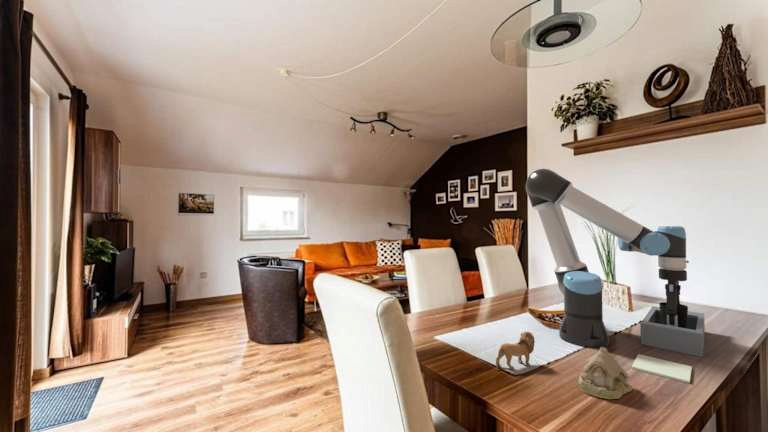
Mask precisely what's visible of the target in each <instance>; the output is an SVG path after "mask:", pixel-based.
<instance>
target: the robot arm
mask: <svg viewBox="0 0 768 432" xmlns="http://www.w3.org/2000/svg"><path fill="white" fill-rule="evenodd" d="M525 182H526V183H525V192H526V195H527V197H528V198H529V202H530V204H531V207H532V209H534V210H536V211H537V212H538V215H539V218H540V221H541V224H542V227H543V230H544V233H545V236H546V238H547V241H548V244H549V247H550V250H551V253H552V255H553V258H554V262H555V265H556V266H555V268H554V274H555V277H556V280H557V283H558V284H557V285H558V289H559V291H560V292H561V294H562V295H563V303H564V304H563V305H564V306H563V307H564V309H563V310H564V312H563V313H564V315H563V318H562V320H561V324H560V327H559V330H558V331H559V332H558V333H559V334H558V335H559V337H560V339H562V340H563V341H566V342H567V343H571V344H574V345H579V346H583V347H590V348H600V347H604V348H605V347H608V346H609V345H610V336H609V334H608V330H607V328H606V326H605V323H604V319H603V288H604V287H603V286H604V285H603V281H602V278H601V276H599V275H598V274H595V273H592V272H589V269H588V266H587V264H586V263H585V262H582V261H581V259H580V257H579V253H578V251H577V248H576V245H575V242H574V240H573V237H572V234H571V232H570V229H569V225H568V224H567V220H566V216H565V214H564V211H563V209H562V206H563V207H564V208H565V209H568V210H569V211H571V212H573V213H574V214H575V215H578V216H580V217H581V218H583V219H585V220H587V221H588V222H590V223H592V224H593V225H595V226H596V227H598V228H601V229H602V230H604V231H606V233H609V234H611V236H615V237H616V238H617V246H618V248H619V250H620V251H622V252H629V253H630V252H636V253H641V254H645V255H647V256H650V257H651V256H652V257H653V256H655V257H656V256H657V265H658V267H659V269H658V278H659V279H661V280H663V281H667V283H666V284H664V288H665V297H666V298H665V299H666V312H664V314H667V325H669V326H675V327H678V322H677V304H681V302H680V301H681V300H680V295H681V284H680V282H686V281H687V280H688V272H687V270H686V269H687V264H689V263H690V261H689V260H687V234H686V229H685V227H683V226H682V225H681V226H680V225H677V226H676V225H669V226H668V225H667V226H665V225H662V226H661V225H660V226H658V227H657V231H653V230H651V229H650V228H648V227H645V226H644V225H643V224H641V223H639V222H637V221H635V220H634V219H632V218H629V217H628V216H626V215H624V214H623V213H621V212H619V211H617V210H615V209H614V208H612V207H610V206H608V205H606V204H605V203H603V202H601V201H599V200H597V199H595V198H594V197H592V196H591V195H589V194H587V193H585V192H583V191H581V190H579V189H578V188H576V187H574V185H573V182H571V181H570V180H568V179H566V178H564V177H563V176H561V175H560V174H558V173H557V172H555V171H554V170H551V169H549V168H538V169H536V170H534V171H533V172H531V173H530V174H529V175H528V177H527V178H526V181H525ZM669 310H671V311H669Z"/></svg>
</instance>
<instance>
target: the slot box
mask: <svg viewBox="0 0 768 432" xmlns="http://www.w3.org/2000/svg"><path fill="white" fill-rule="evenodd" d="M705 329H706V328H705V313H703V312H697V311H690V310H688V313H687V323H686V328H680V327H675V326H669V325H663V324H662V320H661V313H660V306H656V305H655V306H653V305H652V306H651V307H650V309H649V311H648V312H647V313H646V315H645V317H644V318H643V319H642V321H641V322H640V345H643V346H649V347H652V348H653V347H654V348H659V349H664V350H667V351H671V352H672V351H673V352H677V353H681V354H686V355H689V356H690V355H691V356H697V357H701V358H703V357H704V346H705V345H704V344H705V335H706V334H705V331H706V330H705Z"/></svg>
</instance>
